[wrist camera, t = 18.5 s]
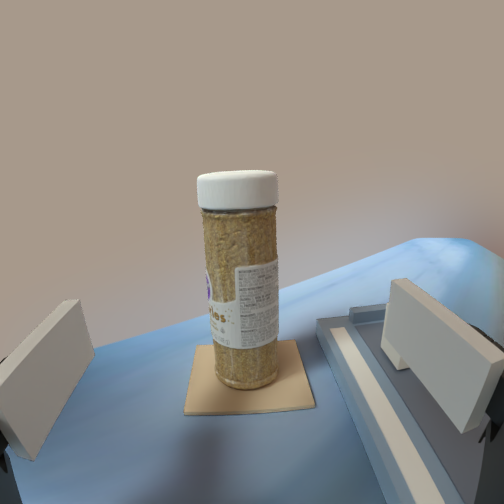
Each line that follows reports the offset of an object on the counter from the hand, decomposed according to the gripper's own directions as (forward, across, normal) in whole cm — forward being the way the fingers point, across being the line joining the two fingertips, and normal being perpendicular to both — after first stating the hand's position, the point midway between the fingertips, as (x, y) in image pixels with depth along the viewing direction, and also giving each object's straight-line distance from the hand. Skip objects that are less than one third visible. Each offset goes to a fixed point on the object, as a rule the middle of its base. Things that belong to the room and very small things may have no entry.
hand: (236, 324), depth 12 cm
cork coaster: (+7, 0, -8) cm, 11 cm away
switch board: (+1, +11, -8) cm, 14 cm away
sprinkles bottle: (+7, 0, -8) cm, 11 cm away
